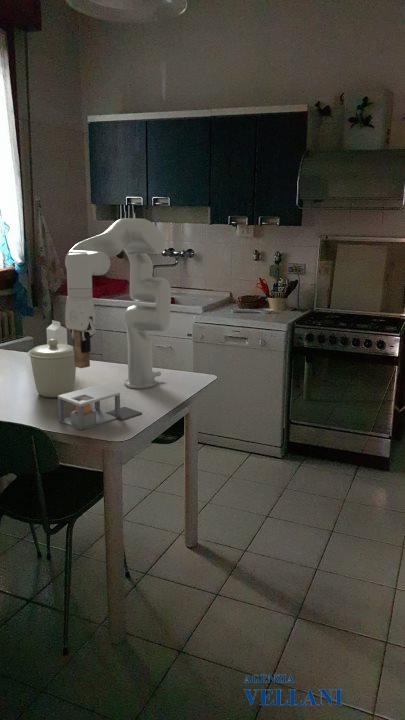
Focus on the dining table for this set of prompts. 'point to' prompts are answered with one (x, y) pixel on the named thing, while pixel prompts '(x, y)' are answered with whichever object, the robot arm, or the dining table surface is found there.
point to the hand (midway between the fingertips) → (82, 350)
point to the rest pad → (125, 413)
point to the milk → (57, 332)
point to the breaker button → (86, 408)
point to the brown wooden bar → (79, 357)
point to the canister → (53, 368)
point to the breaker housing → (96, 414)
